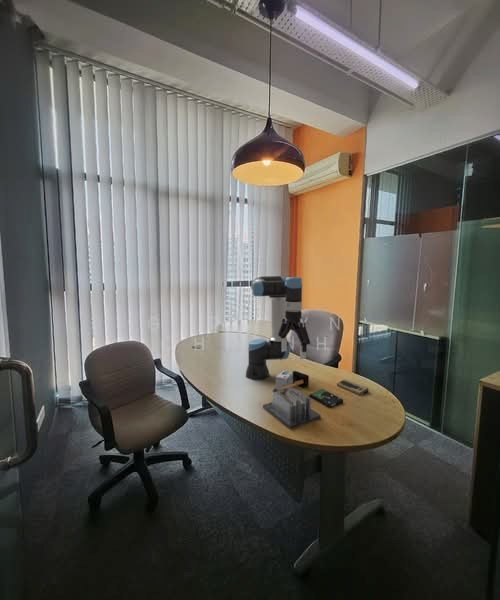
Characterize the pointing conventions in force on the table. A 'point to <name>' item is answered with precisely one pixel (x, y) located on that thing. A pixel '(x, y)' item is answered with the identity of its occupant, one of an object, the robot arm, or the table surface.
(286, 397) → the heatsink base
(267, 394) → the table surface
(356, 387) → the computer
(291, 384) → the latch bar
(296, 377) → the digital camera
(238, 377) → the table surface
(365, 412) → the table surface
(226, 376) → the table surface
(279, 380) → the light bulb box
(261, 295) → the robot arm
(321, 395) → the disk drive
